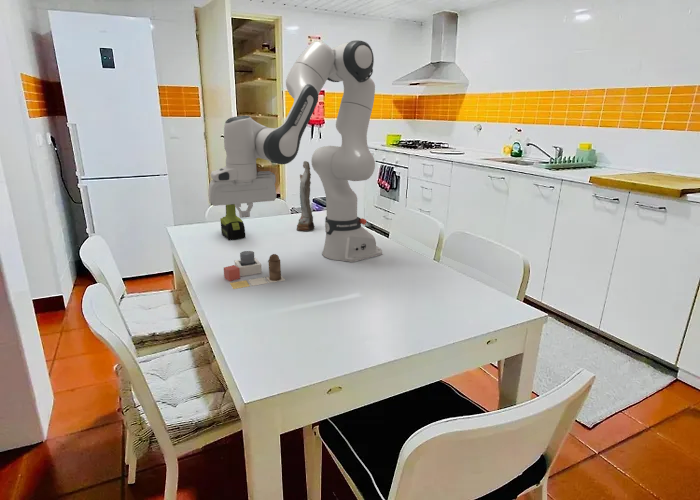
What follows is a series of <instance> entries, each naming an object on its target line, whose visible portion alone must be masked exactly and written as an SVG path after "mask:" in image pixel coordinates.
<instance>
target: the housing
mask: <svg viewBox="0 0 700 500" xmlns="http://www.w3.org/2000/svg"><path fill="white" fill-rule="evenodd" d="M254 259H255V264H253V265H246V266H241V260H240V259H237V260H234V261H233V262H234V265H235V266H236V267H238V268H239V271H240V277H245V276H250V275H256V274H262V273H263V271H262V269H263V268H262V263H261V262H260V261H259V260H258V258H256V257H254Z"/></svg>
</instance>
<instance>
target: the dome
mask: <svg viewBox="0 0 700 500" xmlns="http://www.w3.org/2000/svg"><path fill="white" fill-rule="evenodd" d="M239 257H240V259H239V260H241V266H246V265H253V264H255V259H254V258H255V252H254V251H252V250H244V251H241V252H239Z"/></svg>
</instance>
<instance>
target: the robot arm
mask: <svg viewBox="0 0 700 500" xmlns="http://www.w3.org/2000/svg"><path fill="white" fill-rule="evenodd" d="M373 52H374V51H373V49H372V47H371V46H370V45H369V43H367V41H363V40H351V41H349V42H344V43H341V44H338V45H337V46H335V47H333V48H331V47H330V46H329V45H328V44H327V43H325V42H323V41H320V40H319V41H318V40H317V41H313V42H311V43H310V44H309V45H308V46H307V47H306V48H305V49H304V50H303V51H302V52H301V53H300V54H299V56H298V58H297V59H296V60H295V62H294V63H293V65H292V66H291V68H290V69H289V72H288V74H287V76H286V80H285V87H286V89H287V92H288V93H289V95H290V97H291V98H293V104H292V106H291V107H290V110H289V112H288V113H287V116H286V118H285V120H284V122H283V123H282V124H281V125H279V126H278V127H274V128H273V127H267V125H263V124H261V123H259V122H257V121H256V120H254V119H253V118H252V116H250V115H237V116H232V117H230V118H228V119H227V120H225V123H224V126H223V145H224V146H223V147H224V151H225V154H226V156H225V157H226V158H225V166H223V167H220V168H218V169H217V168H216V169H215V170H212V171H211V173H210V177H211V180H210V182H209V184H208V202H209V204H210V205H211V206H214V207H216V206H217V207H218V206H226V205H230V204H235V209H236V210H237V211H238V214H239V215H238V217H239V218H240V219H241V218H243V219H245V218H250V217H251V211H252V209H253V207H254V203H265V202H274V201H275V200H276V199H277V189H276V185H275V184H276V174H275V173H274V172H271V171H270V170H266V171H263V170H262V171H258V170H257V159H261V160H266V161H269V162H272V163H273V162H274V163H275V164H279V165H287V164H289V163H292V161H294V159H296V157H297V156H298V153H299V150H300V144H301V140H302V136H303V134H304V132H305V130H306V128H307V126H308V124H309V122H310V120H311V117H312V115H313V113H314V111H315V110H316V107H317V104H318V101H319V96H320V93H321V91H322V89H323V87H324V86H325V84H326V83H327V81H329V82H333V83H340V82H342V84H343V94H342V98H341V102H340V106H339V109H338V111H337V112H338V113H337V117H336V121H335V128H336V130H337V132H338V133H339V134H340V136H341V146H336V145H326V146H319V147H317V148H316V149H315V150H314V151H313V153H312V154H311V155H312V156H311V160H310V161H311V167H312V168H313V170H314V171H315V173H316V174H317V175H318V177H319V178H320V181H321V184H322V187H323V189H324V194H325V202H326V203H325V205H326V207H325V209H326V216H325V218H324V220H325V221H324V222H325V223H324V228H325V229H324V230H325V240H324V246H323V250H322V256H323V257H324V258H327V259H329V260H334V261H344V262H350V263H355V262H358V261H362V260H366V259H370V258H373V257H378V256H381V255H383V250H382V249H381V248H380V247H379V246H378V245H377V241H376V238H375V236H374V235H373V234H372V233H371V232H369V231H368V230H367V229H365V227H363V226H364V225H366V224H367V221H368V220H367V219H366V218H363V217H362V218H361V217H359V216H358V196H357V193H355V191H354V190H353V189H352V188H351V186H350V184H349V181H352V182H361V181H367V180H369V179H370V178H371V177H372V176H373V175H374V172H375V168H376V161H375V157H374V156H373V154H372V153H371V152H370V149H369V146H368V137H367V135H368V129H369V125H370V120H371V116H372V112H373V108H374V102H375V95H376V93H375V92H376V85H375V82H374V80H373V79H372V78H371V77H372V75H373V73H374V69H373V68H374V64H375V61H374V60H375V59H374V53H373ZM242 204H246V206H247V208H246V210H242V209H241V208H242ZM362 225H363V226H362Z"/></svg>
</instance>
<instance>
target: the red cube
mask: <svg viewBox="0 0 700 500" xmlns="http://www.w3.org/2000/svg"><path fill="white" fill-rule="evenodd" d="M223 278H224V279H226V280H227V281H228V282H233V281H236V280H241V276H240V271H239V268H238V267H236V266H235V264H233V265H228V266H225V267H223Z"/></svg>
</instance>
